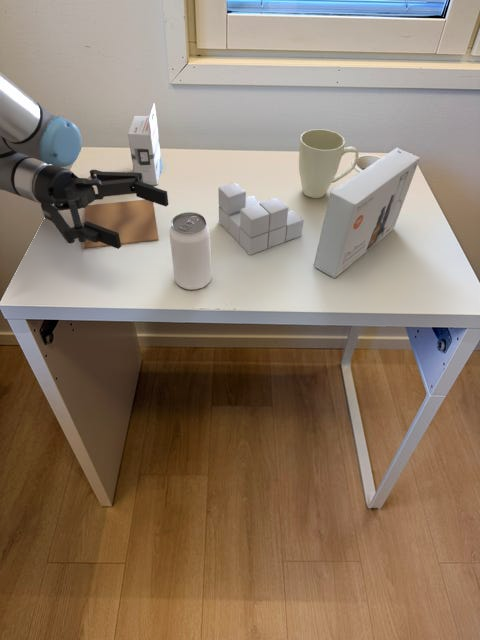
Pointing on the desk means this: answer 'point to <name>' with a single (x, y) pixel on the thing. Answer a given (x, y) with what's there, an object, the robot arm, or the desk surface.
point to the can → (190, 250)
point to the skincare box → (364, 211)
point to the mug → (321, 160)
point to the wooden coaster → (124, 221)
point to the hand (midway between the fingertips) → (144, 219)
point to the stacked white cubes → (256, 219)
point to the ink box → (145, 147)
